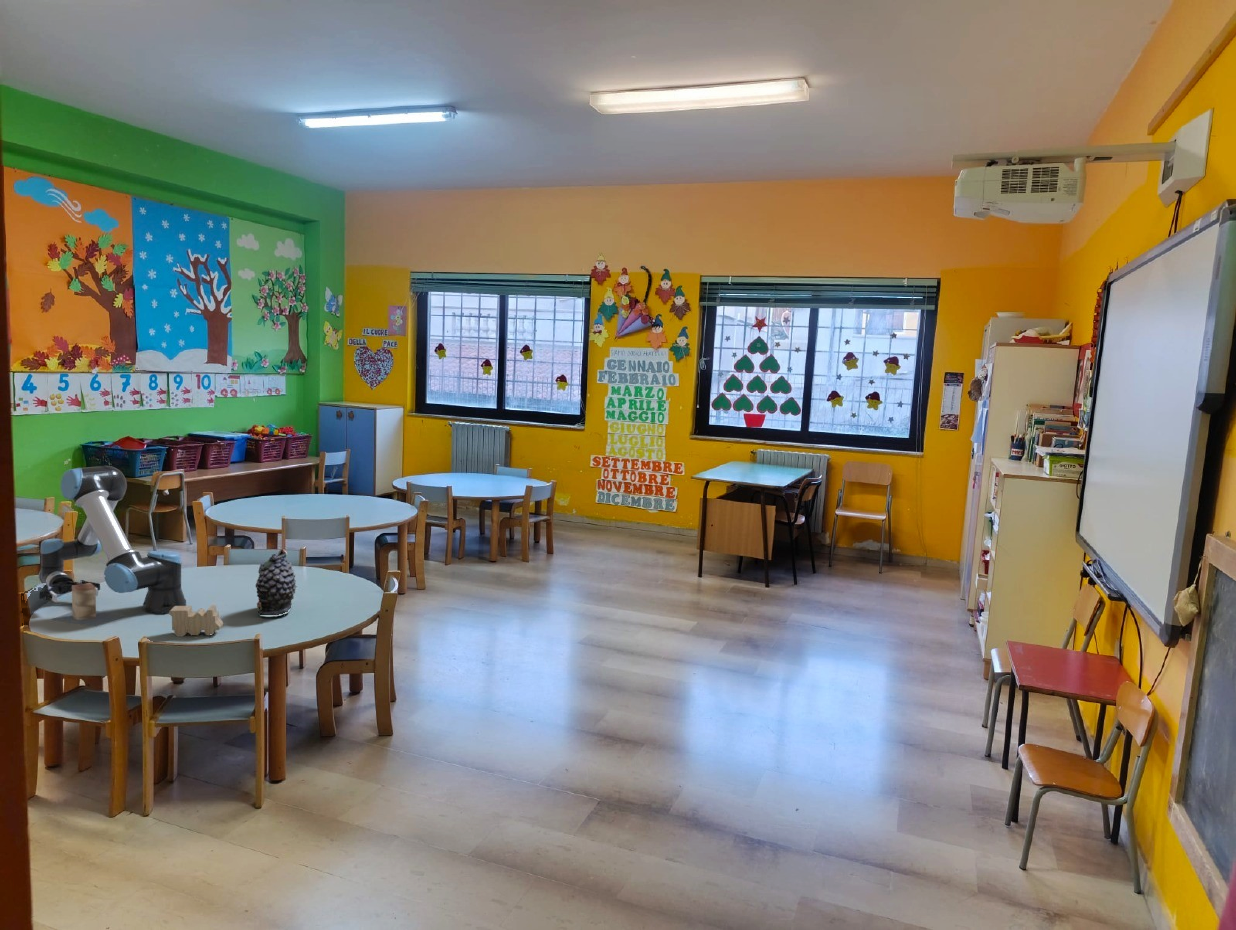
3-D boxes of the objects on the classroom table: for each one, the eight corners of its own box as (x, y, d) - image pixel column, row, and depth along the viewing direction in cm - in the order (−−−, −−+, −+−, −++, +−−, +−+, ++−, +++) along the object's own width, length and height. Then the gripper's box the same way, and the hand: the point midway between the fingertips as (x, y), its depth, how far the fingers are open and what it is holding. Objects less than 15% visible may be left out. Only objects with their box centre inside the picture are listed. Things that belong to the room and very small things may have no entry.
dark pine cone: (260, 604, 335) (260, 545, 332) (298, 604, 339) (299, 545, 336) (250, 620, 315) (251, 558, 312) (291, 620, 319) (292, 558, 316)
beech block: (90, 613, 310) (90, 582, 309) (95, 617, 306) (95, 586, 305) (72, 616, 306) (71, 585, 304) (77, 620, 302) (77, 589, 300)
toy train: (219, 636, 297) (219, 609, 296) (168, 636, 293) (168, 610, 292) (223, 631, 302) (223, 605, 301) (173, 631, 298) (173, 605, 297)
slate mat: (126, 616, 311) (126, 615, 311) (96, 627, 297) (96, 626, 297) (81, 609, 314) (81, 608, 314) (50, 620, 301) (50, 619, 301)
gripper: (95, 586, 333) (113, 599, 320) (22, 597, 315) (38, 611, 301) (95, 569, 333) (113, 580, 319) (21, 578, 314) (37, 591, 300)
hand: (76, 595), depth 310 cm, fingers open, 13 cm apart
